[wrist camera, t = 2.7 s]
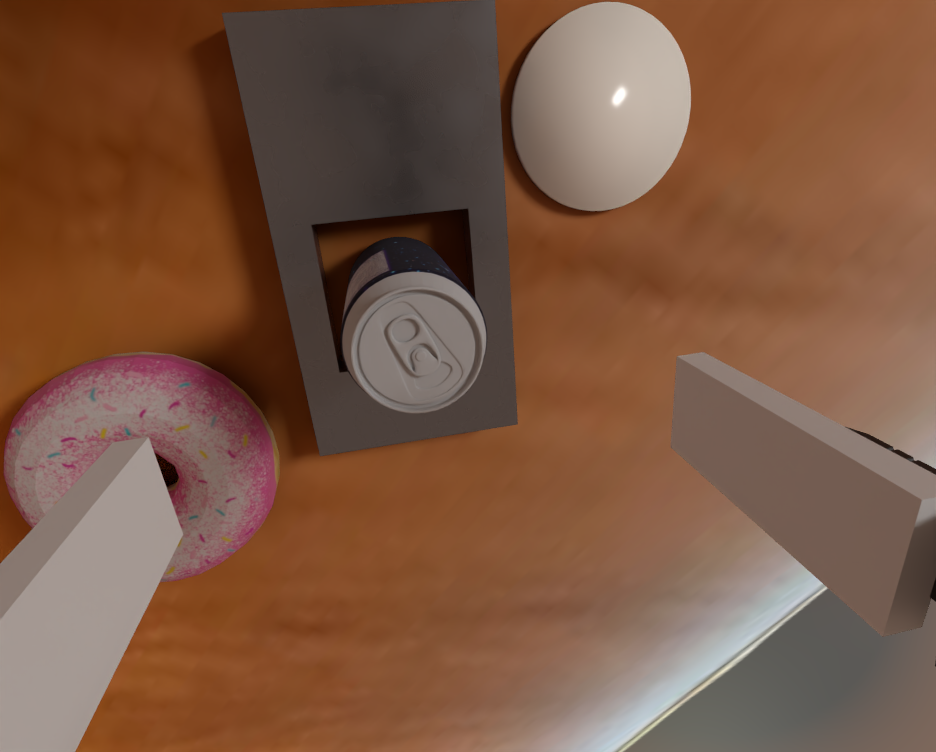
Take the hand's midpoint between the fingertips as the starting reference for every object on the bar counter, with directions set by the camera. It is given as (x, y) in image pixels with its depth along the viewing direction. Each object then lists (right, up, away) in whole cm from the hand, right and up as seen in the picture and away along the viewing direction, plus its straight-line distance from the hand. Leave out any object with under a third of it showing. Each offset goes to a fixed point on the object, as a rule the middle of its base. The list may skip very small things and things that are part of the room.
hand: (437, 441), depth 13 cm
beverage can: (-3, +7, +17) cm, 19 cm away
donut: (-17, -3, +18) cm, 25 cm away
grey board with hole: (-3, +9, +16) cm, 19 cm away
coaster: (+8, +16, +15) cm, 24 cm away
